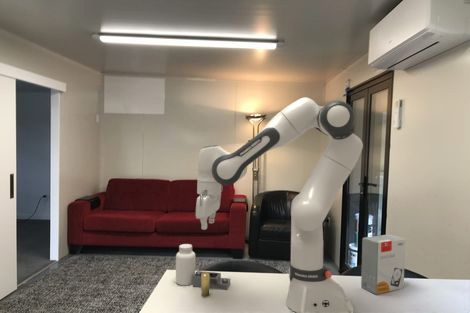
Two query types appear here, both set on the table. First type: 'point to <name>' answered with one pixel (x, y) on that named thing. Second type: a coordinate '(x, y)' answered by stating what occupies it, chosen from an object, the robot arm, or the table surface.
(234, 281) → the table surface
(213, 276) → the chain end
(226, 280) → the chain end
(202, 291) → the pin
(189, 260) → the pill bottle
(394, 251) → the hard drive box
